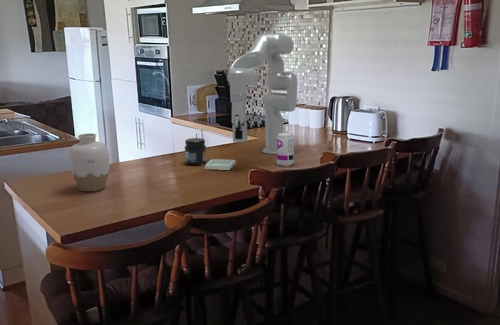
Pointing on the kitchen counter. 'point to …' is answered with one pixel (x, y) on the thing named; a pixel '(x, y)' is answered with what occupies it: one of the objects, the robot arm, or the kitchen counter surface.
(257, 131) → the kitchen counter surface
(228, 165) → the tray
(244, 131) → the hollow metal cube
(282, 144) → the supplement can
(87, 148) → the vase
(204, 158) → the supplement container
